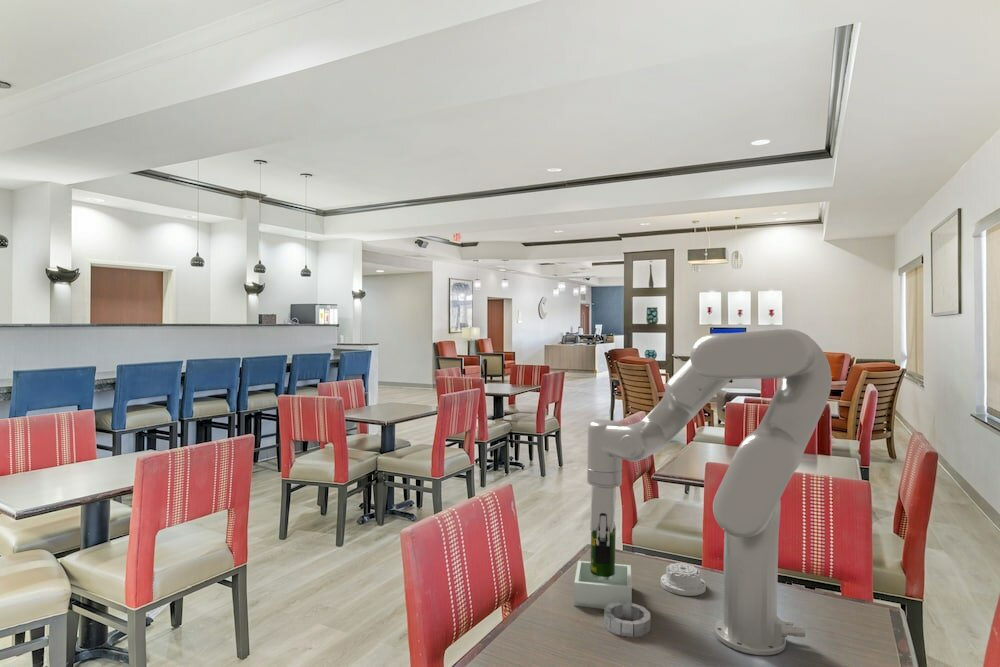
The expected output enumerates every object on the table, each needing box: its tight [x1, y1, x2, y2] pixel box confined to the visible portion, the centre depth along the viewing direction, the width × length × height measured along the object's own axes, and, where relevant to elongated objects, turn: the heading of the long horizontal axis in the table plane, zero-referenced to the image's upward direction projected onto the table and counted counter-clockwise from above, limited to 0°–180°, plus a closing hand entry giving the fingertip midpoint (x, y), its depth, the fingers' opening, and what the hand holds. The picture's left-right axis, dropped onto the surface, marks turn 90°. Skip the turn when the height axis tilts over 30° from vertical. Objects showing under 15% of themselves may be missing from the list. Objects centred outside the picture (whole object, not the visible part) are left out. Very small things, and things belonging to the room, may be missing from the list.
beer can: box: [590, 518, 617, 580], centre depth 130 cm, size 5×5×12 cm
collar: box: [603, 602, 652, 638], centre depth 117 cm, size 9×9×2 cm
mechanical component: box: [660, 562, 707, 597], centre depth 135 cm, size 10×4×10 cm
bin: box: [573, 560, 633, 610], centre depth 130 cm, size 12×12×5 cm
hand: (603, 557), depth 130 cm, fingers closed on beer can, 5 cm apart
